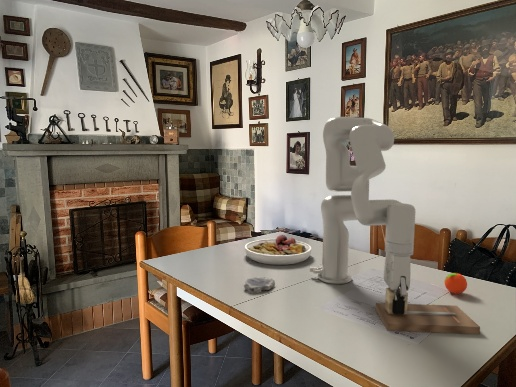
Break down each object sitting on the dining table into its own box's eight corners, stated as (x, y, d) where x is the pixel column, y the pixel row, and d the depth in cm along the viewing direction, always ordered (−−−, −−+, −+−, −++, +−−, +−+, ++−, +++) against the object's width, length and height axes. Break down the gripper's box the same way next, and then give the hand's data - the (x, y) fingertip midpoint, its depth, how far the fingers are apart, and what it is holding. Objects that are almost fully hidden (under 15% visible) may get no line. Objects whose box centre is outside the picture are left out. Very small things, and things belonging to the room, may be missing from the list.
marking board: (387, 330, 104) (387, 321, 103) (375, 309, 117) (375, 301, 117) (479, 334, 102) (480, 325, 102) (456, 312, 116) (456, 304, 115)
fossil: (257, 288, 127) (238, 275, 134) (255, 299, 128) (235, 285, 134) (280, 283, 135) (260, 271, 142) (277, 293, 136) (258, 281, 143)
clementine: (451, 298, 127) (453, 277, 126) (436, 290, 133) (438, 270, 133) (471, 295, 129) (472, 275, 128) (455, 288, 136) (457, 269, 135)
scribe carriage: (388, 313, 108) (389, 293, 107) (385, 307, 112) (386, 287, 111) (408, 314, 108) (410, 293, 107) (404, 308, 112) (405, 288, 111)
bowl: (309, 269, 157) (310, 250, 156) (238, 264, 162) (238, 246, 161) (312, 250, 186) (312, 234, 185) (251, 247, 191) (251, 231, 190)
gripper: (378, 240, 116) (375, 298, 118) (393, 255, 100) (390, 322, 102) (403, 240, 116) (400, 299, 118) (423, 256, 99) (419, 323, 101)
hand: (395, 309), depth 110 cm, fingers closed on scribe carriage, 4 cm apart
